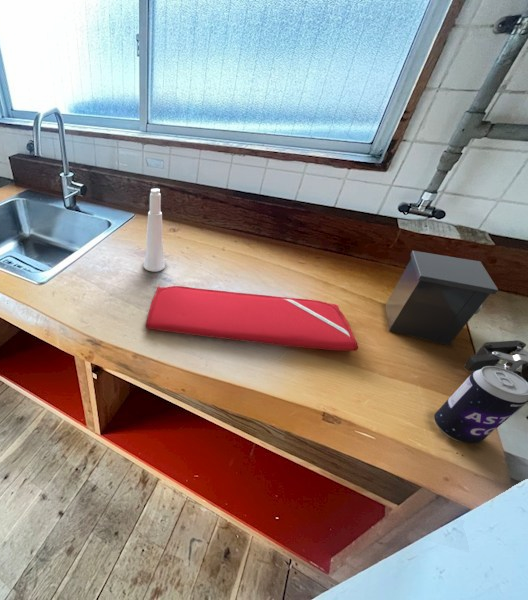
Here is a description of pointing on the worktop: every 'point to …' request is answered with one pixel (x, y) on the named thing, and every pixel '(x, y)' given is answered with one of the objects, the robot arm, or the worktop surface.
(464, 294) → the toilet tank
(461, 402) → the beverage can
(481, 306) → the flush button
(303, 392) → the worktop surface
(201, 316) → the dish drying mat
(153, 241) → the cosmetic bottle
